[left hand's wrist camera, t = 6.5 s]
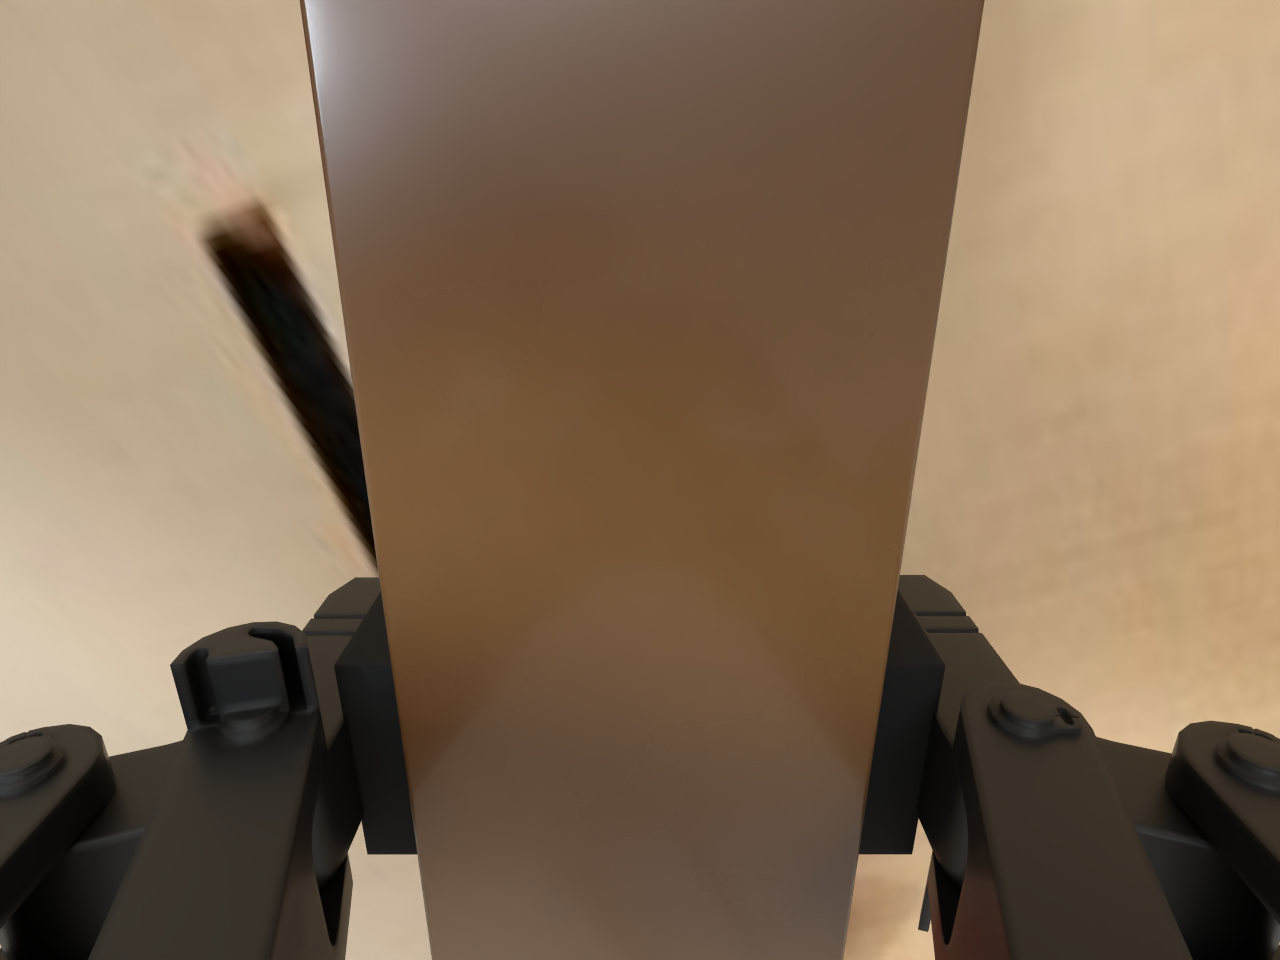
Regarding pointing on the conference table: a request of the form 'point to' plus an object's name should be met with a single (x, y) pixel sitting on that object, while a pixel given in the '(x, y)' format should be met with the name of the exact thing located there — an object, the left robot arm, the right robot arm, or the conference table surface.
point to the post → (639, 439)
